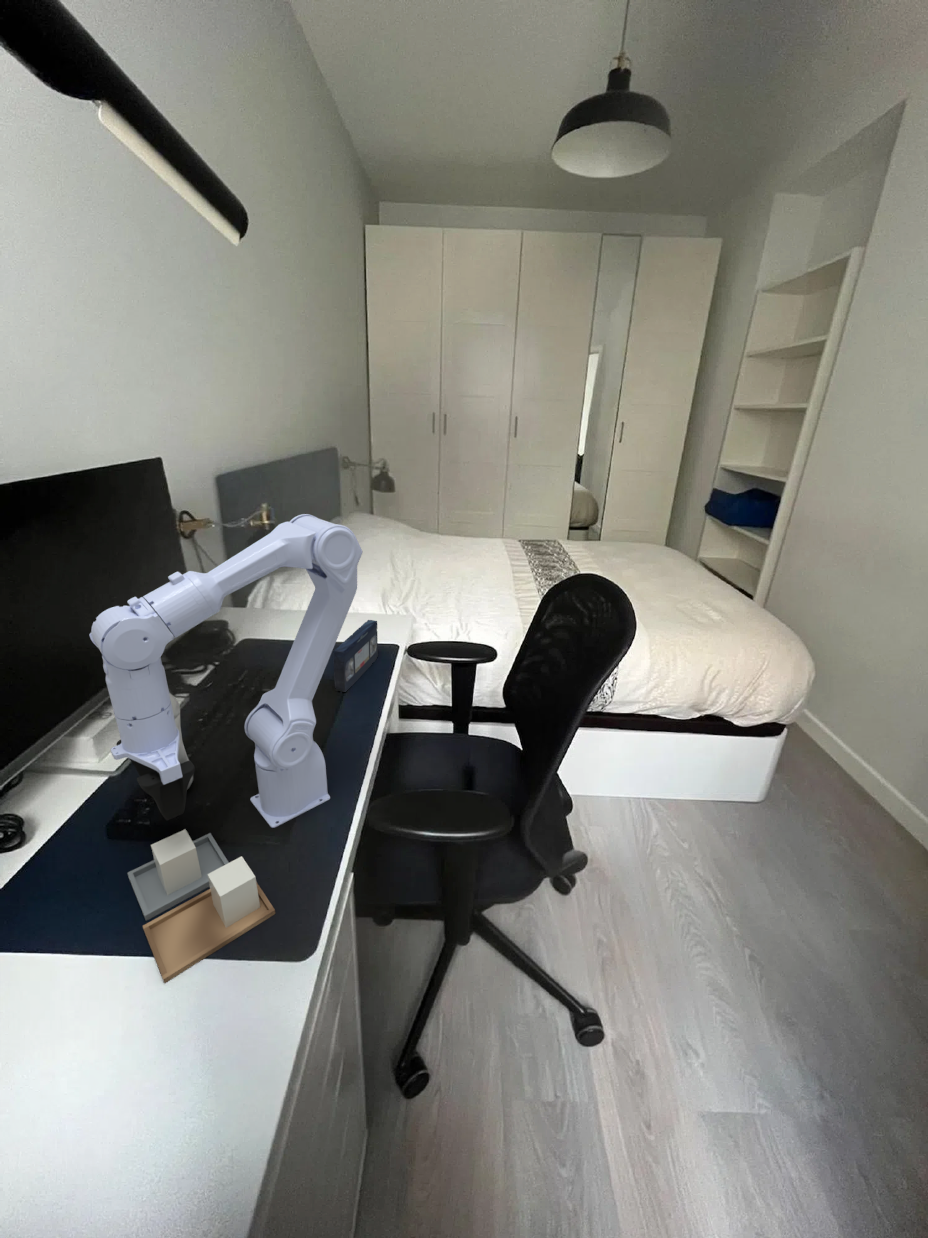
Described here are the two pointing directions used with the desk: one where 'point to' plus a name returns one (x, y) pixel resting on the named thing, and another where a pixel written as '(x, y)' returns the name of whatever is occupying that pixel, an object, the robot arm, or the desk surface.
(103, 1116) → the desk surface
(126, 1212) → the desk surface
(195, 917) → the walnut tray
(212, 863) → the charcoal tray
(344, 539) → the robot arm
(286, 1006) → the desk surface
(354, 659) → the vhs cassette tape
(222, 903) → the stone
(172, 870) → the white block
